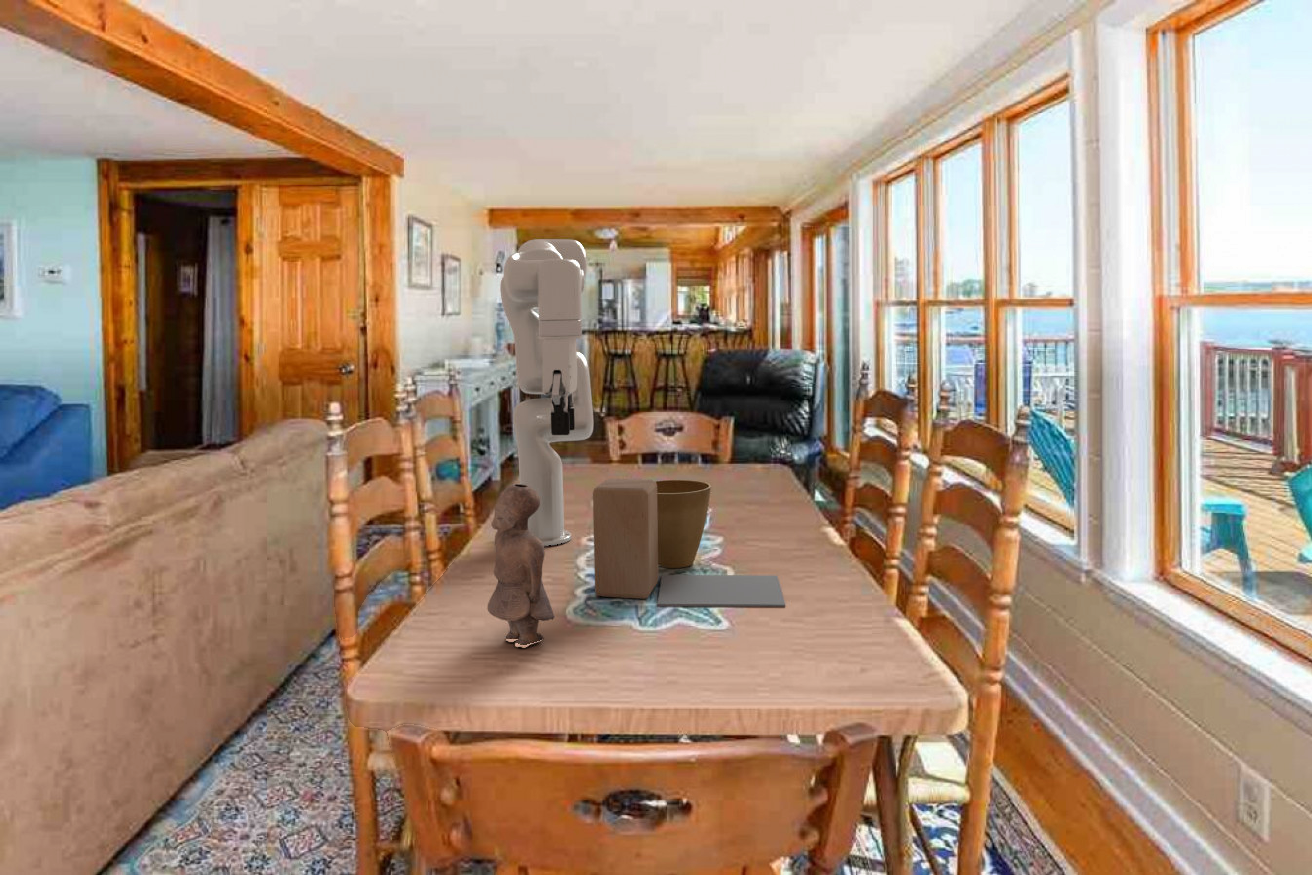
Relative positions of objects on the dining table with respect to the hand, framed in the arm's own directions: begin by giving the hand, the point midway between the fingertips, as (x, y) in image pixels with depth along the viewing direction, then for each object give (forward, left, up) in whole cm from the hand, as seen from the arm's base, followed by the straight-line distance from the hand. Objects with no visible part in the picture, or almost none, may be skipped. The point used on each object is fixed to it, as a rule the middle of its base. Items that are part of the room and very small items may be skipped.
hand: (563, 431), depth 161 cm
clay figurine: (-3, -26, -30) cm, 40 cm away
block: (+11, 0, -30) cm, 32 cm away
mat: (+28, 0, -29) cm, 41 cm away
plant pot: (+19, +18, -30) cm, 40 cm away
